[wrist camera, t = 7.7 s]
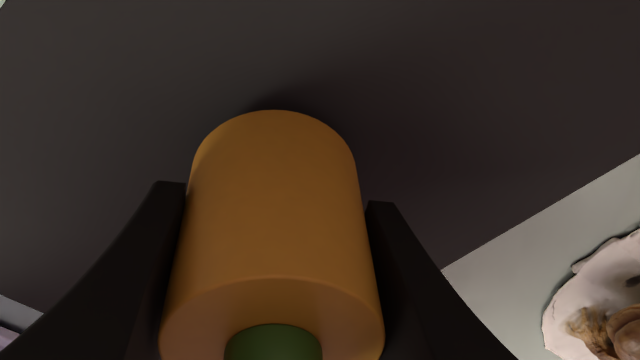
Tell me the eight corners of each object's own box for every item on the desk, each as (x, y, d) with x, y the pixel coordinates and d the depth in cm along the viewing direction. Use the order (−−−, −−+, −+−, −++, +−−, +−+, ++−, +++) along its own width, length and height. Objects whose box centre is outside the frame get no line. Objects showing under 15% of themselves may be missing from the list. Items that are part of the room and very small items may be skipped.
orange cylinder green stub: (276, 255, 15) (275, 484, 11) (157, 179, 13) (91, 421, 9) (388, 176, 14) (446, 406, 9) (272, 74, 12) (268, 305, 7)
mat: (229, 382, 22) (228, 394, 22) (-146, 215, 15) (-157, 227, 15) (728, 85, 14) (741, 95, 14) (422, -577, 7) (430, -595, 7)
